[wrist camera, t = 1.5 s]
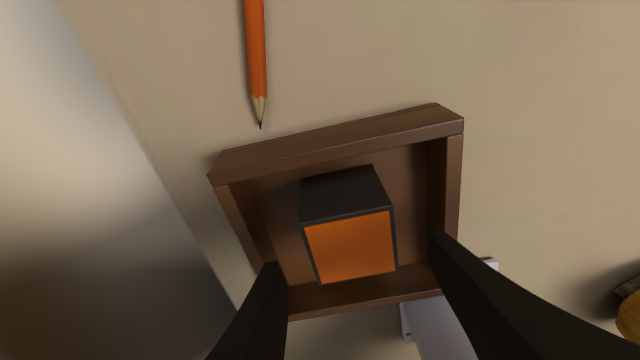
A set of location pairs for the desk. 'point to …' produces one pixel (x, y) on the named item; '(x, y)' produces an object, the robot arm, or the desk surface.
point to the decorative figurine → (629, 310)
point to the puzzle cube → (347, 225)
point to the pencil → (256, 54)
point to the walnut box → (334, 155)
